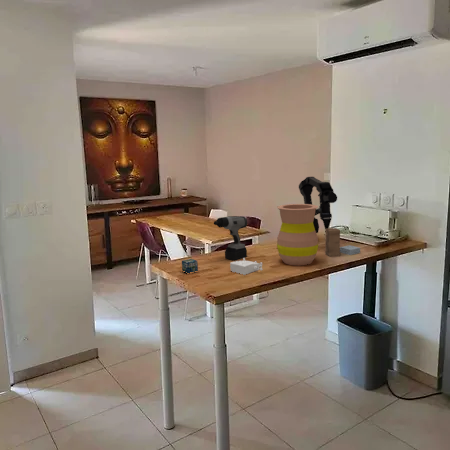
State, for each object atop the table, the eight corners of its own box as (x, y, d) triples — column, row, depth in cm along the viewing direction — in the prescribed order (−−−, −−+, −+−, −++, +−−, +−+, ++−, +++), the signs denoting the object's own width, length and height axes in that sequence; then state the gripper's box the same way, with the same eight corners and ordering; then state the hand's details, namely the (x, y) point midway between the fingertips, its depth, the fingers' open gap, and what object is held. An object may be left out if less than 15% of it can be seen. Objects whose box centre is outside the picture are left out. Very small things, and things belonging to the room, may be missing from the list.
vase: (296, 269, 215) (296, 211, 210) (268, 260, 233) (267, 206, 228) (327, 262, 227) (327, 206, 222) (298, 254, 245) (298, 202, 240)
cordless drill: (211, 263, 233) (209, 218, 229) (240, 253, 251) (239, 212, 246) (221, 265, 228) (219, 219, 223) (250, 255, 246) (249, 213, 241)
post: (325, 254, 243) (325, 228, 240) (335, 253, 244) (335, 228, 241) (329, 256, 237) (329, 230, 234) (339, 256, 238) (340, 229, 235)
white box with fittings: (272, 275, 216) (250, 277, 205) (244, 268, 231) (222, 270, 219) (274, 260, 216) (252, 261, 205) (245, 254, 230) (224, 254, 219)
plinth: (339, 252, 246) (339, 247, 246) (349, 250, 250) (349, 245, 250) (350, 255, 240) (350, 249, 239) (360, 252, 243) (360, 247, 243)
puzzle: (198, 272, 217) (197, 260, 216) (188, 274, 214) (187, 263, 213) (192, 269, 222) (191, 258, 221) (182, 271, 219) (181, 260, 218)
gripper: (310, 204, 261) (312, 229, 262) (311, 204, 243) (312, 231, 243) (329, 203, 259) (330, 228, 260) (331, 203, 241) (332, 230, 241)
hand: (326, 229), depth 251 cm, fingers open, 9 cm apart
